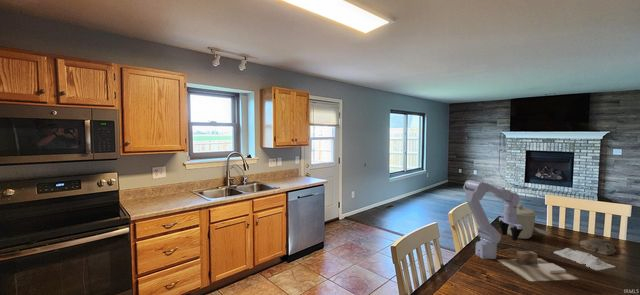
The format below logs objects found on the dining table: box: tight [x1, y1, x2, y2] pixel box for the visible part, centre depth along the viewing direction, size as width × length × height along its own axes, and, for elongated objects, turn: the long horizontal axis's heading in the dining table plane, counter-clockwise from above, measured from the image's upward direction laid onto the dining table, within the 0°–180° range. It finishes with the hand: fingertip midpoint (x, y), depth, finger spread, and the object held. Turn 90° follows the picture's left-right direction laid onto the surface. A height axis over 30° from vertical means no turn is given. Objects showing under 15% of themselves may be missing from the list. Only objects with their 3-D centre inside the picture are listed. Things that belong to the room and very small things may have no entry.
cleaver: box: [533, 226, 571, 240], centre depth 189 cm, size 29×1×10 cm
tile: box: [537, 262, 567, 274], centre depth 135 cm, size 2×7×8 cm
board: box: [497, 257, 579, 282], centre depth 136 cm, size 24×21×1 cm
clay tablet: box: [579, 237, 617, 256], centre depth 162 cm, size 14×5×20 cm
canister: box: [502, 203, 538, 240], centre depth 181 cm, size 18×18×21 cm
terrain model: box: [553, 247, 616, 271], centre depth 148 cm, size 17×23×5 cm
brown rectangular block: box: [516, 250, 538, 264], centre depth 143 cm, size 8×4×5 cm, turn 93°
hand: (509, 237), depth 154 cm, fingers open, 7 cm apart
